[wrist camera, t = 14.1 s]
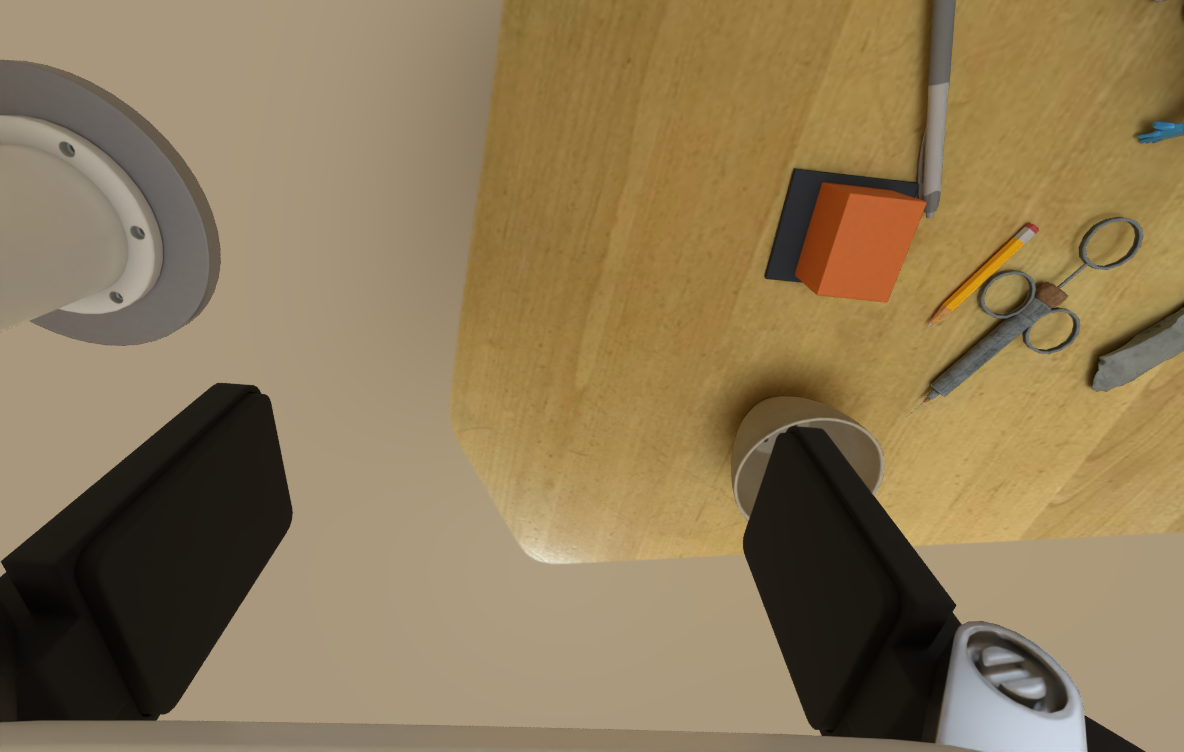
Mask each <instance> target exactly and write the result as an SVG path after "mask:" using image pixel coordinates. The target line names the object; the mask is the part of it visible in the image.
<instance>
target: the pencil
mask: <svg viewBox="0 0 1184 752" xmlns="http://www.w3.org/2000/svg"><path fill="white" fill-rule="evenodd" d="M1038 231H1039V228H1038V227H1037V226H1035V225H1034V224H1031V223H1028V224H1027V225H1026V226H1025V227H1024V228H1023V229H1022V230H1021V231H1020V232H1019V233H1018V234H1017V235H1016V236H1015V237H1014V238H1012V239H1011V240H1010V241H1009V242H1008V243H1007V244H1006V245H1005V246H1004V247H1003V248H1002V249H1001V250H1000V251H999V252H998V253H997V254H995V255H994V256H993V257H992V258H991V259H990V260H989V261H988V262H987V263H986V264H985V265H984V266H983V267H982V268H981V269H980V270H978V271H977V272H976V273H975V274H974V275H973V276H972V277H971V278H970V279H969V280H968V281H967V282H966V283H965V284H964V285H963V286H962V287H960V288H959V289H958V290H957V291H956V292H955V293H954V294H953V295H952V296H951V297H950V298H949V299H948V300H947V301H946V302H945V303H943V304H942V306H941V307H940V309H939V310H938V311H937V313H936V314H935V316H934V317H933V318H932V320H931V321H930V323H929V324H928V326H930V325H932V324H933V323H935V322H937V321H938V320H940V319H941V318H943V317H944V316H946V315H948V314H949V313H951V312H952V311H953V310H954V309H955V308H956V307H958V306H959V305H960V304H961V303H962V302H963V301H964V300H965V299H966V298H967V297H968V296H969V295H970V294H972V293H973V292H974V291H975V290H976V289H977V288H978V287H979V286H980V285H981V284H982V283H983V282H984V281H986V280H987V279H988V278H989V277H990V276H991V275H992V274H993V273H994V272H995V271H996V270H997V269H998V268H1000V267H1001V266H1002V265H1003V264H1004V263H1005V262H1006V261H1007V260H1008V259H1009V258H1010V257H1011V256H1013V255H1014V254H1015V253H1016V252H1017V251H1018V250H1019V249H1020V248H1021V247H1022V246H1023V245H1024V244H1025V243H1027V242H1028V241H1029V240H1030V239H1031V238H1032V237H1033V236H1034V235H1035V234H1036V233H1037V232H1038ZM928 326H927V327H928Z"/></svg>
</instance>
